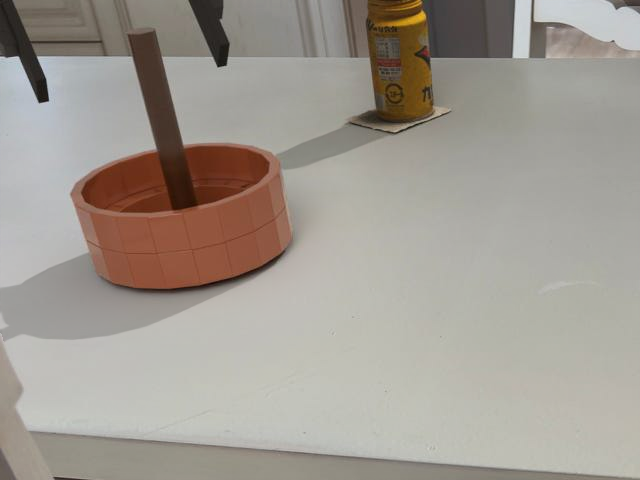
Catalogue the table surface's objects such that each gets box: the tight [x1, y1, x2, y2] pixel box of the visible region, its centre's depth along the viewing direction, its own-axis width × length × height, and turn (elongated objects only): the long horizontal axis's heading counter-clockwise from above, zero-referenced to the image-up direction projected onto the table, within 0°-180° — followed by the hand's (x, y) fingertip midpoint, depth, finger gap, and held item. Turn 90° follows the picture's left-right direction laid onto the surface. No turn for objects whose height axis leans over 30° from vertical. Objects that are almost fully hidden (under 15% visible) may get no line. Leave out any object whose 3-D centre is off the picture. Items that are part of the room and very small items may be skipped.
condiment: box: [344, 0, 452, 133], centre depth 101 cm, size 7×8×12 cm
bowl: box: [69, 142, 294, 290], centre depth 79 cm, size 16×16×6 cm
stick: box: [125, 26, 198, 211], centre depth 75 cm, size 5×5×16 cm
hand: (136, 73), depth 75 cm, fingers open, 13 cm apart
